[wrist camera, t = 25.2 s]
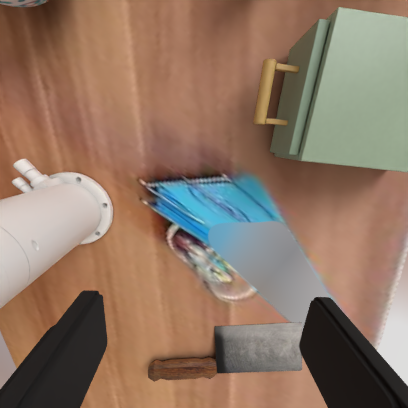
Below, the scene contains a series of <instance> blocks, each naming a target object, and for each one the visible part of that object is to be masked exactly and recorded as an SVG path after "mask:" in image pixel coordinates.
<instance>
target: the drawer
mask: <svg viewBox="0 0 408 408" xmlns="http://www.w3.org/2000/svg"><path fill="white" fill-rule="evenodd" d="M329 23H330V20H324V19H319V20H318V21H317V22H316V23H315V24H314V25H313V26H312V27H311V28H310V29H309V30H308V31H307V32H306V33H305V34H304V35H303V36H302V38H301V39H300V40H299V41H298V42H297V43H296V44H295V45H294V46H293V47H292V48H291V49H290V51H289V56H288V61H287V65H285V64H278V63H277V64H276V60H274V59H266V60H264V61H263V67H262V73H261V79H260V85H259V91H258V97H257V103H256V109H255V115H254V121H253V124H256V125H265V124H273V125H275V128H274V133H273V138H272V143H271V148H270V152H273V153H282V154H290V155H298V153H299V150H300V149H301V144H302V140H303V136H304V132H305V128H306V124H307V119H308V115H309V111H310V107H311V103H312V99H313V94H314V90H315V86H316V82H317V78H318V74H319V69H320V65H321V61H322V57H323V53H324V49H325V45H324V44H325V40H326V36H327V32H328V27H329ZM275 71H281V72H285V77H284V82H283V87H282V92H281V97H280V102H279V107H278V112H277V117H276V119H270V118H266V116H267V111H268V105H269V100H270V94H271V89H272V83H273V78H274V72H275Z"/></svg>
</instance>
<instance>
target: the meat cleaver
mask: <svg viewBox="0 0 408 408" xmlns="http://www.w3.org/2000/svg"><path fill="white" fill-rule="evenodd" d="M301 327H302V323H301V322H297V323H277V324H257V325H237V326H217V327H215V347H216V360H215V359H213V358H211V357H207V358H204V359H199V358H188V359H169V360H166V361H163V362H162V361H159V360H155V361H154V362H152V363H150V365H149V369H148V378H150V379H151V380H153V381H154V382H155V381H157V380H159V379H165V380H181V379H197V378H200V377H205V378H209V379H211V378H212V377H214V376H215V375H216V374H217V373H240V372H270V371H300V370H302V354H301V352H300V348H299V343H300V339H301V335H302V328H301Z"/></svg>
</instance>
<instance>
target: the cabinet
mask: <svg viewBox="0 0 408 408" xmlns="http://www.w3.org/2000/svg"><path fill="white" fill-rule="evenodd" d="M326 20H330V23H329V27H328V32H327V36H326V40H325V44H324V45H325V49H324V53H323V57H322V61H321V65H320V69H319V74H318V78H317V82H316V86H315V90H314V94H313V99H312V103H311V107H310V111H309V115H308V119H307V124H306V128H305V132H304V136H303V140H302V144H301V149H300V150H299V153H298V155H290V154H282V153H275V154H274V156H275V157H280V158H286V159H292V160H299V161H306V162H316V163H325V164H334V165H344V166H353V167H362V168H372V169H381V170H390V171H400V172H408V17H402V16H395V15H388V14H382V13H375V12H369V11H362V10H356V9H349V8H342V7H338V8H337V9H336V10H335V11H334V12H333V13H332V14H331V15H330V16H329V17H328V18H327V19H326Z"/></svg>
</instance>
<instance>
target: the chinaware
mask: <svg viewBox="0 0 408 408" xmlns="http://www.w3.org/2000/svg"><path fill="white" fill-rule="evenodd" d="M47 1H49V0H0V4H3V5H7V6H13V7H33V6H37V5H41V4H43V3H45V2H47Z"/></svg>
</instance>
